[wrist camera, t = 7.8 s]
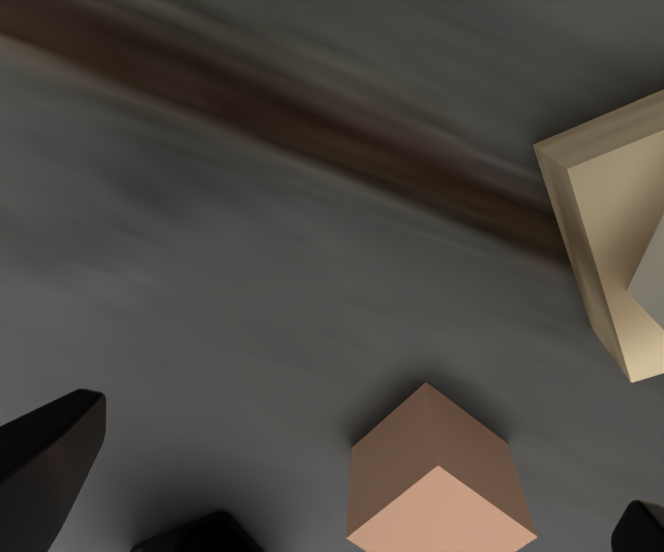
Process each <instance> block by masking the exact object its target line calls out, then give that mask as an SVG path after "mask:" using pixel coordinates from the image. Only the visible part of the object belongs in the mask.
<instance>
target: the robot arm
mask: <svg viewBox="0 0 664 552" xmlns="http://www.w3.org/2000/svg"><path fill="white" fill-rule="evenodd" d="M105 432H106V397H105V395H104V394H103V393H102V392H98V391H93V390H88V389H78V390H75V391H73V392H71V393H69V394H67V395H65V396H62V397H60V398H58V399H56V400H54V401H52V402H50V403H48V404H46V405H44V406H42V407H40V408H37V409H35V410H33V411H31V412H29V413H27V414H25V415H23V416H21V417H19V418H17V419H15V420H12V421H10V422H8V423H6V424H4V425H2V426H0V552H47V551H48V550H49V548H50V547H51V545H52V543H53V542H54V540H55V538H56V537H57V535H58V533H59V531H60V530H61V528H62V526H63V524H64V522H65V520H66V518H67V516H68V514H69V512H70V510H71V508H72V506H73V504H74V502H75V500H76V498H77V496H78V493H79V491H80V489H81V487H82V485H83V483H84V481H85V479H86V477H87V475H88V473H89V471H90V469H91V467H92V465H93V463H94V461H95V459H96V457H97V454H98V452H99V450H100V448H101V446H102V444H103V441H104V437H105ZM611 548H612V552H664V507H662V506H661V505H659V504H656V503H651V502H646V501H641V500H634V501H632V502H631V503H629V505H628V506H627V508H626V510H625V511H624V513H623V515H622V517H621V518H620V520H619V522H618V524H617V525H616V527H615V529H614V531H613V533H612V537H611ZM130 552H262V551H261V550H260V549H259V548H258V546H257V545H256V544H255V543H254V542H253V541H252V540H251V539H250V537H249V536H248V535H247V534H246V533H245V532H244V531H243V530H242V528H241V527H240V526H239V525H238V524H237V523H236V522H235V520H234V519H233V518H232V517H231V516H230V515H229V514H228V513H225V512H221V511H219V512H216V513H213V514H211V515H208V516H206V517H203V518H201V519H198V520H196V521H194V522H191V523H189V524H186V525H184V526H181V527H179V528H176V529H174V530H172V531H169V532H167V533H164V534H162V535H159V536H157V537H155V538H152V539H150V540H147V541H145V542H142V543H140V544H137V545H135V546H133V547H132V549H131V551H130Z"/></svg>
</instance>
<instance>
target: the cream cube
mask: <svg viewBox="0 0 664 552" xmlns="http://www.w3.org/2000/svg"><path fill="white" fill-rule="evenodd" d="M626 292H627V293H628V294H629V295H630V296H631V297H632V298H633V299H634V300H635V301H636V302H637V303H638V304H639V305H640V306H641V307H642V308H643V309H644V310H645V311H646V312H647V313H648V314H649V315H650V316H651V317H652V318H653V320H654V321H655V322H656V323H657V324H658V325H659V326H660V327H661V328H662V329H663V330H664V214H663V216H662V218H661V220H660V222H659V224H658V226H657V228H656V231H655V233H654V235H653V237H652V239H651V241H650V243H649V245H648V247H647V249H646V251H645V253H644V255H643V258H642V260H641V262H640V264H639V266H638V268H637V270H636V272H635V274H634V276H633V278H632V280H631V282H630V284H629V287H628V289H627V291H626Z"/></svg>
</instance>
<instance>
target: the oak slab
mask: <svg viewBox="0 0 664 552" xmlns="http://www.w3.org/2000/svg"><path fill="white" fill-rule="evenodd" d="M533 147H534V150H535V153H536V157H537V160H538V163H539V166H540V169H541V172H542V175H543V178H544V181H545V185H546V188H547V191H548V194H549V197H550V200H551V203H552V206H553V210H554V213H555V216H556V219H557V222H558V225H559V228H560V231H561V235H562V238H563V241H564V244H565V247H566V250H567V253H568V256H569V259H570V263H571V266H572V269H573V272H574V275H575V278H576V281H577V284H578V288H579V291H580V294H581V297H582V300H583V303H584V306H585V309H586V313H587V316H588V319H589V322H590V325H591V328H592V330H593V331H594V332H595V334H596V335H597V337H598V338H599V339H600V341H601V342H602V343H603V345H604V346H605V347H606V349H607V350H608V352H609V353H610V354H611V356H612V357H613V358H614V360H615V361H616V362H617V364H618V365H619V367H620V368H621V369H622V371H623V372H624V373H625V375H626V376H627V378H628V379H629V380H630V382H631V383H632V382H636V381H639V380H642V379H646V378H649V377H652V376H656V375H659V374H662V373H664V330H663V329H662V328H661V327H660V326H659V325H658V324H657V323H656V322H655V321H654V320H653V318H652V317H651V316H650V315H649V314H648V313H647V312H646V311H645V310H644V309H643V308H642V307H641V306H640V305H639V304H638V303H637V302H636V301H635V300H634V299H633V298H632V297H631V296H630V295H629V294H628V293H627V292H626V291H627V289H628V287H629V284H630V282H631V280H632V278H633V276H634V274H635V272H636V270H637V268H638V266H639V264H640V262H641V260H642V258H643V255H644V253H645V251H646V249H647V247H648V245H649V243H650V241H651V239H652V237H653V235H654V233H655V231H656V228H657V226H658V224H659V222H660V220H661V218H662V216H663V214H664V89H663V90H661V91H659V92H656V93H654V94H652V95H649V96H647V97H644V98H642V99H640V100H637V101H635V102H633V103H630V104H628V105H626V106H623V107H621V108H618V109H616V110H614V111H611V112H609V113H607V114H604V115H602V116H600V117H597V118H595V119H592V120H590V121H588V122H585V123H583V124H581V125H578V126H576V127H574V128H571V129H569V130H566V131H564V132H562V133H559V134H557V135H555V136H552V137H550V138H548V139H545V140H543V141H540V142H538V143H536V144H533Z"/></svg>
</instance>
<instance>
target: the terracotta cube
mask: <svg viewBox="0 0 664 552" xmlns="http://www.w3.org/2000/svg"><path fill="white" fill-rule="evenodd" d="M535 538H537V534H536V530H535V527H534V524H533V521H532V518H531V515H530V512H529V509H528V506H527V502H526V499H525V496H524V493H523V490H522V487H521V484H520V481H519V478H518V474H517V471H516V468H515V465H514V462H513V459H512V456H511V453H510V450H509V446H508V443H506V442H505V441H504V440H502V439H501V438H500V437H498V436H497V435H496V434H494V433H493V432H492V431H490V430H489V429H488V428H486V427H485V426H484V425H482V424H481V423H480V422H478V421H477V420H476V419H475V418H473V417H472V416H471V415H469V414H468V413H467V412H465V411H464V410H463V409H461V408H460V407H459V406H457V405H456V404H455V403H453V402H452V401H451V400H449V399H448V398H447V397H445V396H444V395H443V394H441V393H440V392H439V391H438V390H436V389H435V388H434V387H432V386H431V385H430V384H428V383H427V382H425V383H424V384H423V385H422V386H421V387H420V388H419V389H417V390H416V391H415V392H414V393H413V394H412V395H411V396H410V397H408V398H407V399H406V400H405V401H404V402H403V403H402V404H401V405H399V406H398V407H397V408H396V409H395V410H394V411H393V412H391V413H390V414H389V415H388V416H387V417H386V418H385V419H384V420H382V421H381V422H380V423H379V424H378V425H377V426H376V427H375V428H373V429H372V430H371V431H370V432H369V433H368V434H367V435H366V436H364V437H363V438H362V439H361V440H360V441H359V442H358V443H357V444H355V445H354V446H353V447H352V450H351V467H350V484H349V500H348V517H347V533H346V539H348V540H350V541H351V542H353V543H354V544H356V545H357V546H359V547H360V548H362V549H363V550H365V551H367V552H516V551H517V550H519V549H520V548H522V547H523V546H525V545H526V544H528V543H529V542H531V541H532V540H534V539H535Z"/></svg>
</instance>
